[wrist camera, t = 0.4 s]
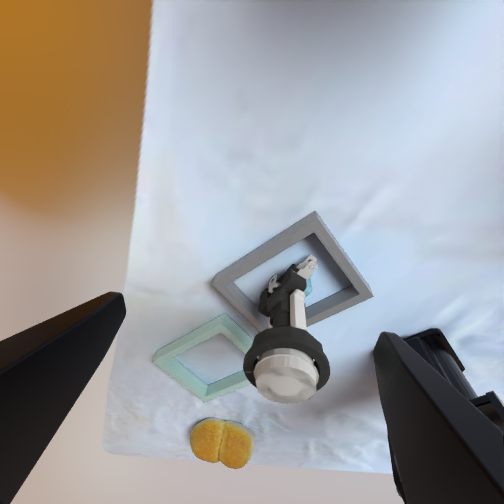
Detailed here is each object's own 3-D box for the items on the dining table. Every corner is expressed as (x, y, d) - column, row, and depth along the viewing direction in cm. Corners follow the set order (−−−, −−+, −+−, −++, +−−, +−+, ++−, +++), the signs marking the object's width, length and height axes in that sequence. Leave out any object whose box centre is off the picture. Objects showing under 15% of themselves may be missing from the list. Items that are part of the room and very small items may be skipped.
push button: (288, 237, 22) (290, 326, 13) (338, 270, 23) (370, 372, 14) (245, 288, 25) (224, 388, 16) (291, 315, 26) (294, 422, 18)
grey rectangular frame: (368, 285, 23) (373, 296, 22) (271, 332, 28) (270, 343, 26) (315, 210, 21) (317, 218, 19) (215, 274, 25) (211, 284, 23)
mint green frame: (275, 362, 30) (275, 374, 28) (207, 390, 34) (204, 402, 33) (224, 313, 27) (221, 323, 26) (157, 350, 31) (151, 361, 30)
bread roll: (193, 410, 37) (184, 442, 33) (258, 422, 37) (255, 455, 33) (193, 440, 41) (184, 471, 38) (250, 451, 41) (247, 483, 37)
